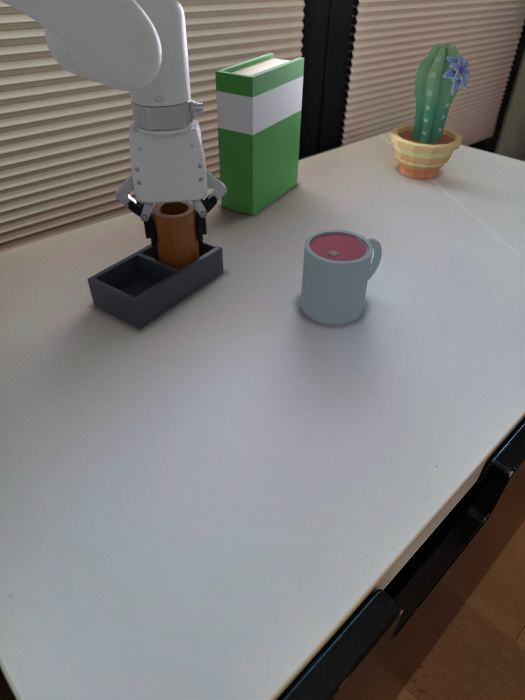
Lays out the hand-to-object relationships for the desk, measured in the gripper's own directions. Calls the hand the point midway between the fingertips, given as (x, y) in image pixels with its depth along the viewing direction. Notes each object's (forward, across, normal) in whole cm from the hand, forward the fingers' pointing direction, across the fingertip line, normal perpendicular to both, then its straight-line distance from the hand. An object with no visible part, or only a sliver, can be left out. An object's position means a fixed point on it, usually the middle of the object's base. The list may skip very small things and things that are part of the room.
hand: (177, 239), depth 77 cm
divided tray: (+7, +3, +3) cm, 8 cm away
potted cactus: (+7, -55, -36) cm, 66 cm away
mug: (+7, -24, +10) cm, 27 cm away
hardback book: (+7, -17, -29) cm, 34 cm away
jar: (+4, 0, 0) cm, 4 cm away
